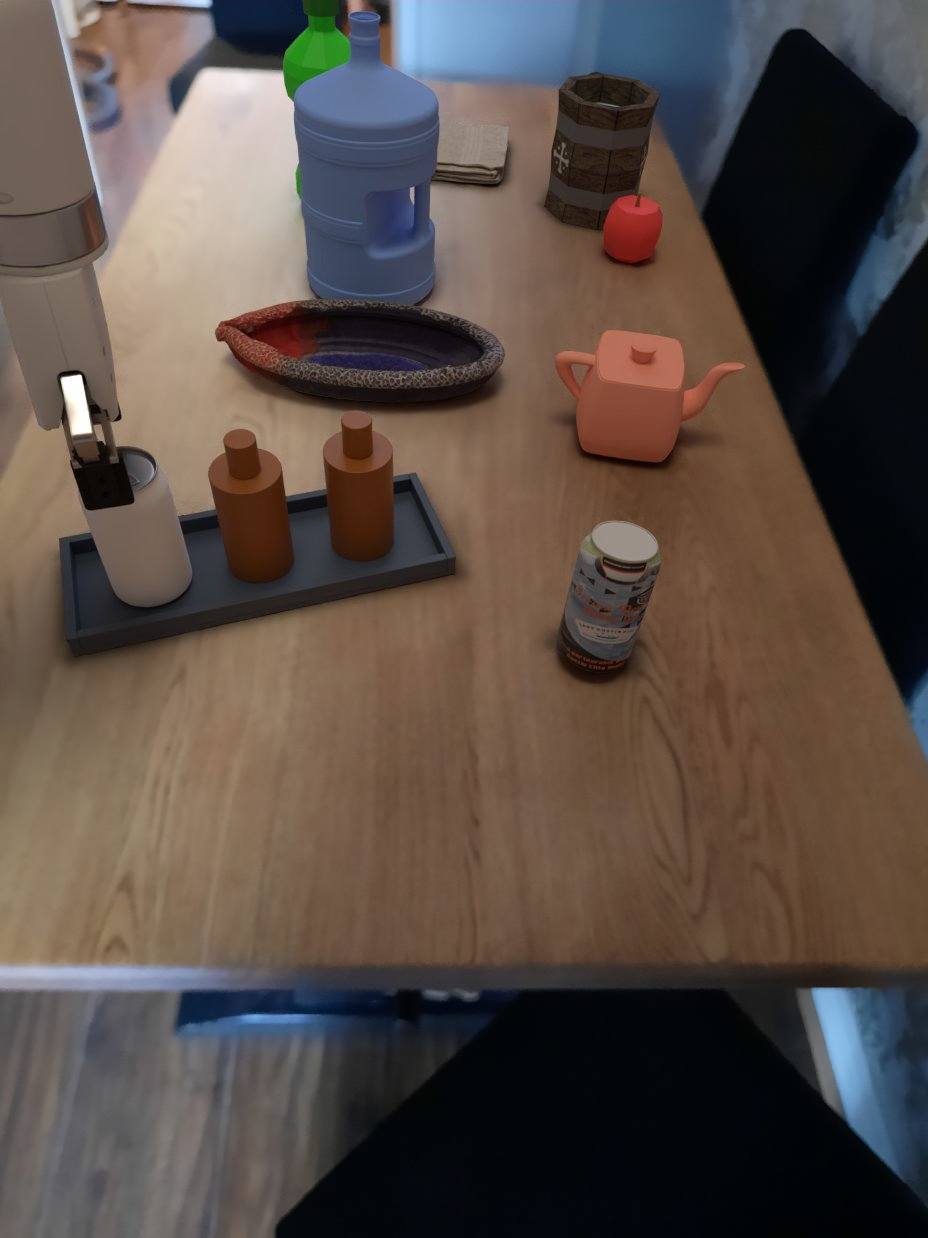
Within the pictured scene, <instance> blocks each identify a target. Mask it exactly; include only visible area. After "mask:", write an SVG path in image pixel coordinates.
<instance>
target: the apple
mask: <svg viewBox="0 0 928 1238" xmlns="http://www.w3.org/2000/svg"><path fill="white" fill-rule="evenodd" d="M663 216H664V215H663V212H662V210H661V208H660V205H659V204H658V203H657V202H656V201H654V200H652V199H651V198H650V197H646V196H642V194H641V193H638V196H634V195H630V196H625V197H621V198H618V199H617V200H616V201H615V202H614V203H613V204H612V205H611V207H610V210H609V212H608V215H607V218H606V221H605V224H604V227H603V229H602V230H603V231H602V233H603V235H602V236H603V240H602V241H603V250H604V251H605V252H606V253H607V254H608V255H609V256H610V257H612V259H613V258H614V259H615V260H617V261H618V262H622V263H626V264H630V265H631V264H635V263H638V262H641V261H644V260H646V259H649V258H652V255H653V253H654V252H655V251H654V250H655V248H656V246H657V244H658V242H659V239H660V238H661V233H662V229H663V218H664V217H663Z"/></svg>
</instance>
